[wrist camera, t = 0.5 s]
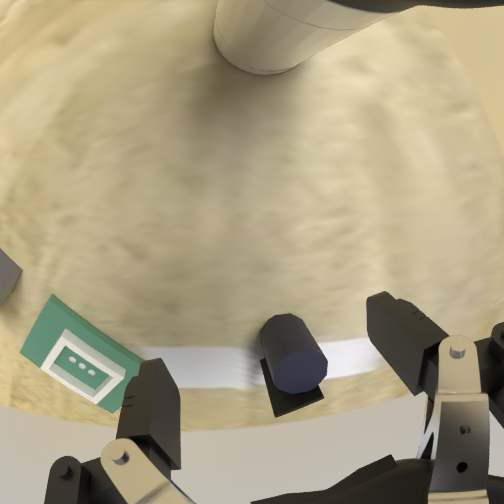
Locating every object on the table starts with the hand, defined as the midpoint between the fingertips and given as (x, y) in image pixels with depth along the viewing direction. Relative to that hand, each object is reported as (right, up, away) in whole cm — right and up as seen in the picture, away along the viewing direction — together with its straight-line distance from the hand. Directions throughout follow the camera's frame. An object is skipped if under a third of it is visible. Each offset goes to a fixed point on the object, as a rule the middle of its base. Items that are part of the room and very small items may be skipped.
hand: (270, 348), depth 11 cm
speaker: (+2, -6, +25) cm, 26 cm away
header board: (-22, -10, +22) cm, 33 cm away
